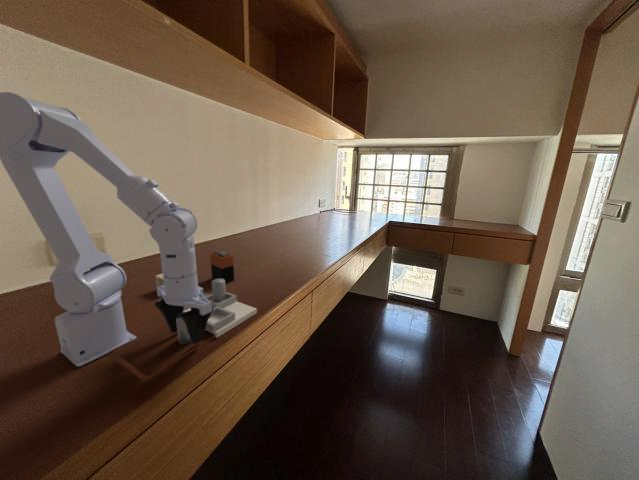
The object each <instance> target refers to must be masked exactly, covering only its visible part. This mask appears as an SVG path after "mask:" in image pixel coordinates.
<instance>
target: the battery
mask: <svg viewBox="0 0 639 480" xmlns="http://www.w3.org/2000/svg"><path fill="white" fill-rule="evenodd" d="M209 257H210V267H211V268H210V269H211V279H212V281H213V280H215V279H224V280H225V284H228V283H231V282H234V281H235V271H234V270H235V267H234V256H233V254H230V253H228V251H222V250H221V249H218V250H215V252H211V253H210V255H209Z"/></svg>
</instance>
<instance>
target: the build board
mask: <svg viewBox="0 0 639 480" xmlns="http://www.w3.org/2000/svg"><path fill="white" fill-rule="evenodd" d="M211 290H212V291H211V292H212V293H211V294H209V296H207V297H205V298H206V299H207V300H208V301H210V302H212V306H213V311H212V313H211V315H210V317H209V319H208V321H207V324H206V328H205V331H207V332H209V333H210V334H213V337H215V338H219V337H222V335H224V334H226V333H227V332H229V331H231V330H232V329H233V328H235V327H237V326H239V325H240V324H241V323H243V322H245V321H246V320H248V319H250V318H251V317H253V316H254V315H256V314H257V313H258V309H257V307H253V306H250V305H248V304H245V303H243V302H239V301H238V296H237V295H236V294H233V293H231V292H227V291H226V283H225V280H224V279H215V280H213V279H212V280H211ZM187 311H191V307H189V308H187V309H185V310H183V312H187Z"/></svg>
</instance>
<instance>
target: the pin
mask: <svg viewBox="0 0 639 480" xmlns="http://www.w3.org/2000/svg"><path fill="white" fill-rule="evenodd" d="M187 312H188V311H187ZM183 313H186V312H182V313H180V314H178V315H177V316H176V323H177V331H176V332H177V339H178V344H180V345H188V344H192V342H191V340H190V336H189V331H188V328H187V326H186V324H185V322H184V320H183V319H182V318H181V317H180V315H181V314H183Z"/></svg>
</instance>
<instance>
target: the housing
mask: <svg viewBox="0 0 639 480" xmlns="http://www.w3.org/2000/svg"><path fill="white" fill-rule="evenodd" d="M155 280H156V288H157V287H159V286H162V285H164V280H163V272H162V273H159V274H155Z"/></svg>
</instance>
